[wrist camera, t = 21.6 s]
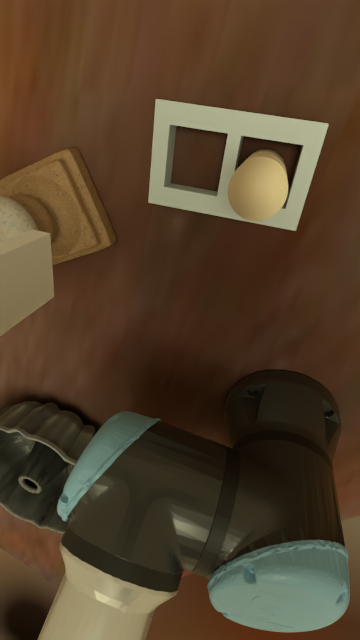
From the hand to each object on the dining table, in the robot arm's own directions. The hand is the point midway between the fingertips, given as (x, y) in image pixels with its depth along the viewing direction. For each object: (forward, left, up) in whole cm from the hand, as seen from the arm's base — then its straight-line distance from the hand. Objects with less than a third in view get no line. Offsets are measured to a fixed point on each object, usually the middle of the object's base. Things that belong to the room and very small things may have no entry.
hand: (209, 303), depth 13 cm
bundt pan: (+25, +49, -26) cm, 61 cm away
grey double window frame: (+3, -2, -26) cm, 26 cm away
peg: (-1, -2, -26) cm, 26 cm away
